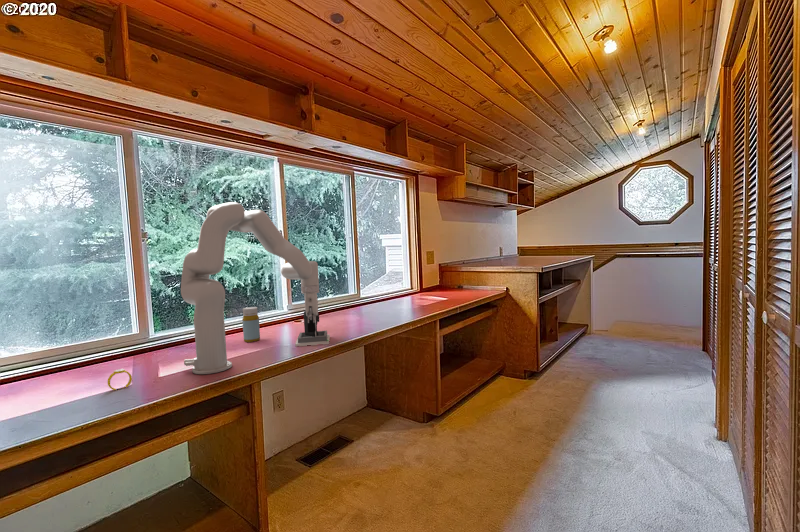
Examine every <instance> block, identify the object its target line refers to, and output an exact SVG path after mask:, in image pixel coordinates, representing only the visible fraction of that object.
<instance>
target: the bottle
mask: <svg viewBox="0 0 800 532" xmlns="http://www.w3.org/2000/svg"><path fill="white" fill-rule="evenodd" d="M242 331H243V332H242V333H243V335H242V336H243V341H244V342H245V343H254V342H253V341H255V342H258V341H260V339H261V334H260V333H261V332H260V317H259V315H258V307H257V306H249V307H244V308H242Z"/></svg>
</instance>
